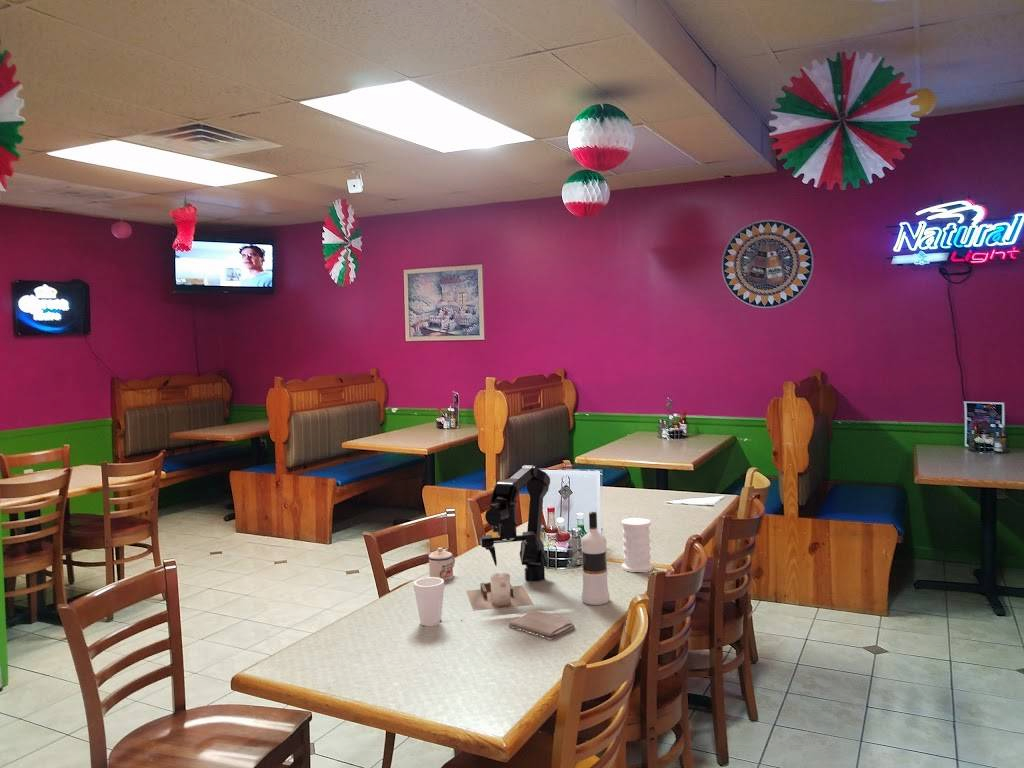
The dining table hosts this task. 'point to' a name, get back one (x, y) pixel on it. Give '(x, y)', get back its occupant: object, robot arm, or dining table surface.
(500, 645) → the dining table surface
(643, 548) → the decorative container
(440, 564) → the teacup with lid
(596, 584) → the vodka
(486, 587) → the dock
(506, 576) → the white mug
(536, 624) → the washcloth
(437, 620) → the foam cup
